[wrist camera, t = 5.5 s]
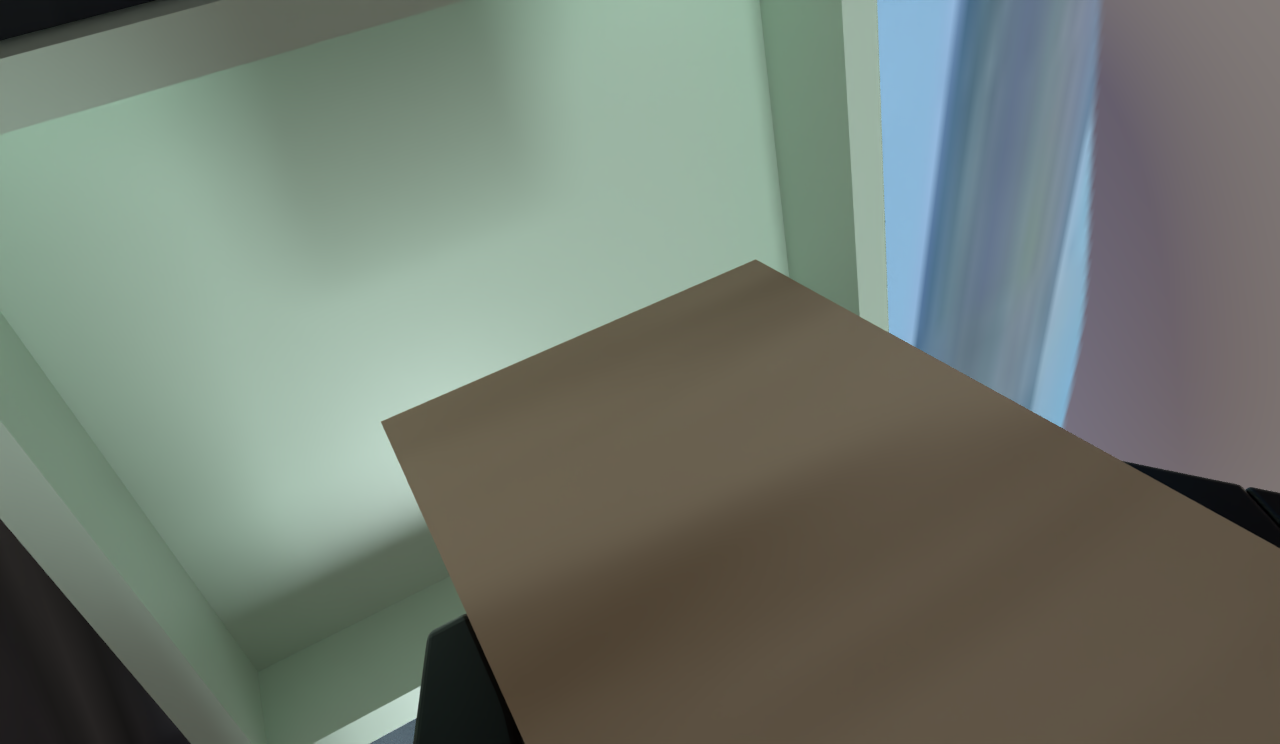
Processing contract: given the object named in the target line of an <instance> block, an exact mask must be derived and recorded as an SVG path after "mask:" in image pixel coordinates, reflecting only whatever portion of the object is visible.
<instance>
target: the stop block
mask: <svg viewBox="0 0 1280 744" xmlns="http://www.w3.org/2000/svg"><path fill="white" fill-rule="evenodd" d="M381 424H382V426H383V428H384V430H385V433H386V435H387V437H388V439H389V441H390V444H391V446H392V448H393V450H394V453H395V455H396V457H397V459H398V462H399V464H400V466H401V468H402V470H403V473H404V475H405V477H406V479H407V482H408V484H409V486H410V488H411V491H412V493H413V495H414V497H415V500H416V502H417V504H418V506H419V508H420V511H421V513H422V515H423V517H424V520H425V522H426V524H427V526H428V529H429V531H430V533H431V535H432V537H433V540H434V542H435V544H436V546H437V549H438V551H439V553H440V555H441V558H442V560H443V562H444V564H445V566H446V569H447V571H448V573H449V575H450V578H451V580H452V582H453V584H454V587H455V589H456V591H457V593H458V596H459V598H460V600H461V602H462V604H463V607H464V609H465V611H466V613H467V616H468V618H469V620H470V622H471V625H472V627H473V629H474V631H475V633H476V636H477V638H478V640H479V642H480V645H481V647H482V649H483V651H484V654H485V656H486V658H487V660H488V663H489V665H490V667H491V669H492V671H493V674H494V676H495V678H496V680H497V683H498V685H499V687H500V689H501V692H502V694H503V696H504V698H505V700H506V703H507V705H508V707H509V709H510V712H511V714H512V716H513V718H514V721H515V723H516V725H517V727H518V730H519V732H520V734H521V736H522V738H523V741H524V743H525V744H1280V548H1278V547H1276V546H1275V545H1273V544H1271V543H1269V542H1267V541H1266V540H1264V539H1262V538H1260V537H1258V536H1256V535H1255V534H1253V533H1251V532H1249V531H1247V530H1246V529H1244V528H1242V527H1240V526H1238V525H1237V524H1235V523H1233V522H1231V521H1229V520H1227V519H1226V518H1224V517H1222V516H1220V515H1218V514H1217V513H1215V512H1213V511H1211V510H1209V509H1208V508H1206V507H1204V506H1202V505H1200V504H1198V503H1197V502H1195V501H1193V500H1191V499H1189V498H1188V497H1186V496H1184V495H1182V494H1180V493H1179V492H1177V491H1175V490H1173V489H1171V488H1170V487H1168V486H1166V485H1164V484H1162V483H1160V482H1159V481H1157V480H1155V479H1153V478H1151V477H1150V476H1148V475H1146V474H1144V473H1142V472H1141V471H1139V470H1137V469H1135V468H1133V467H1131V466H1130V465H1128V464H1126V463H1124V462H1122V461H1121V460H1119V459H1117V458H1115V457H1113V456H1111V455H1110V454H1108V453H1106V452H1104V451H1102V450H1101V449H1099V448H1097V447H1095V446H1093V445H1091V444H1090V443H1088V442H1086V441H1084V440H1082V439H1081V438H1078V437H1077V436H1075V435H1073V434H1072V433H1069V432H1068V431H1066V430H1064V429H1063V428H1061V427H1059V426H1057V425H1055V424H1054V423H1052V422H1050V421H1048V420H1046V419H1044V418H1043V417H1041V416H1039V415H1037V414H1035V413H1034V412H1032V411H1030V410H1028V409H1026V408H1025V407H1023V406H1021V405H1019V404H1017V403H1015V402H1014V401H1012V400H1010V399H1008V398H1006V397H1005V396H1003V395H1001V394H999V393H997V392H996V391H994V390H992V389H990V388H988V387H986V386H985V385H983V384H981V383H979V382H977V381H976V380H974V379H972V378H970V377H968V376H967V375H965V374H963V373H961V372H959V371H957V370H956V369H954V368H952V367H950V366H948V365H947V364H945V363H943V362H941V361H939V360H938V359H936V358H934V357H932V356H930V355H928V354H927V353H925V352H923V351H921V350H919V349H918V348H916V347H914V346H912V345H910V344H909V343H907V342H905V341H903V340H901V339H899V338H898V337H896V336H894V335H892V334H890V333H889V332H887V331H885V330H883V329H881V328H880V327H878V326H876V325H874V324H872V323H870V322H869V321H867V320H865V319H863V318H861V317H860V316H858V315H856V314H854V313H852V312H851V311H849V310H847V309H845V308H843V307H841V306H840V305H838V304H836V303H834V302H832V301H831V300H829V299H827V298H825V297H823V296H822V295H820V294H818V293H816V292H814V291H812V290H811V289H809V288H807V287H805V286H803V285H802V284H800V283H798V282H796V281H794V280H793V279H791V278H789V277H787V276H785V275H783V274H782V273H780V272H778V271H776V270H774V269H773V268H771V267H769V266H767V265H765V264H764V263H762V262H760V261H758V260H756V259H755V260H753V261H751V262H748V263H746V264H744V265H741V266H739V267H737V268H734V269H732V270H730V271H727V272H725V273H723V274H721V275H718V276H716V277H714V278H711V279H709V280H707V281H704V282H702V283H700V284H697V285H695V286H693V287H691V288H688V289H686V290H684V291H681V292H679V293H677V294H674V295H672V296H670V297H667V298H665V299H663V300H660V301H658V302H656V303H654V304H651V305H649V306H647V307H644V308H642V309H640V310H637V311H635V312H633V313H630V314H628V315H626V316H624V317H621V318H619V319H617V320H614V321H612V322H610V323H607V324H605V325H603V326H600V327H598V328H596V329H593V330H591V331H589V332H587V333H584V334H582V335H580V336H577V337H575V338H573V339H570V340H568V341H566V342H563V343H561V344H559V345H557V346H554V347H552V348H550V349H547V350H545V351H543V352H540V353H538V354H536V355H533V356H531V357H529V358H526V359H524V360H522V361H520V362H517V363H515V364H513V365H510V366H508V367H506V368H503V369H501V370H499V371H496V372H494V373H492V374H490V375H487V376H485V377H483V378H480V379H478V380H476V381H473V382H471V383H469V384H466V385H464V386H462V387H459V388H457V389H455V390H453V391H450V392H448V393H446V394H443V395H441V396H439V397H436V398H434V399H432V400H429V401H427V402H425V403H423V404H420V405H418V406H416V407H413V408H411V409H409V410H406V411H404V412H402V413H399V414H397V415H395V416H392V417H390V418H388V419H386V420H383V421H381Z"/></svg>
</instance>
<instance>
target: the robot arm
mask: <svg viewBox="0 0 1280 744" xmlns="http://www.w3.org/2000/svg"><path fill="white" fill-rule="evenodd" d="M1122 462H1124V461H1122ZM1124 463H1126V464H1128V465H1130V466H1131V467H1133V468H1135V469H1137V470H1139V471H1141V472H1142V473H1144V474H1146V475H1148V476H1150V477H1151V478H1153V479H1155V480H1157V481H1159V482H1160V483H1162V484H1164V485H1166V486H1168V487H1170V488H1171V489H1173V490H1175V491H1177V492H1179V493H1180V494H1182V495H1184V496H1186V497H1188V498H1189V499H1191V500H1193V501H1195V502H1197V503H1198V504H1200V505H1202V506H1204V507H1206V508H1208V509H1209V510H1211V511H1213V512H1215V513H1217V514H1218V515H1220V516H1222V517H1224V518H1226V519H1227V520H1229V521H1231V522H1233V523H1235V524H1237V525H1238V526H1240V527H1242V528H1244V529H1246V530H1247V531H1249V532H1251V533H1253V534H1255V535H1256V536H1258V537H1260V538H1262V539H1264V540H1266V541H1267V542H1269V543H1271V544H1273V545H1275V546H1276V547H1278V548H1280V493H1277V492H1272V491H1267V490H1262V489H1258V488H1253V487H1250V488H1247V489H1246V490H1245V489H1244V488H1243V487H1241V486H1240V485H1237V484H1232V483H1227V482H1222V481H1218V480H1212V479H1208V478H1202V477H1198V476H1193V475H1188V474H1183V473H1178V472H1174V471H1169V470H1163V469H1158V468H1153V467H1149V466H1144V465H1139V464H1134V463H1129V462H1124ZM413 744H525V743H524V741H523V738H522V736H521V734H520V732H519V730H518V727H517V725H516V723H515V721H514V718H513V716H512V714H511V712H510V709H509V707H508V705H507V703H506V700H505V698H504V696H503V694H502V692H501V689H500V687H499V685H498V683H497V680H496V678H495V676H494V674H493V671H492V669H491V667H490V665H489V663H488V660H487V658H486V656H485V654H484V651H483V649H482V647H481V645H480V642H479V640H478V638H477V636H476V633H475V631H474V629H473V627H472V625H471V622H470V620H469V618H468V616H467V614H463V615H461V616H459V617H457V618H455V619H453V620H451V621H449V622H447V623H445V624H443V625H441V626H440V627H438V628H436V629H434V630H432V631H431V632H430V634H429V635H428V638H427V642H426V649H425V657H424V664H423V672H422V680H421V687H420V695H419V703H418V710H417V718H416V726H415V734H414V741H413Z"/></svg>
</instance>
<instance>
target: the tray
mask: <svg viewBox="0 0 1280 744" xmlns="http://www.w3.org/2000/svg"><path fill="white" fill-rule="evenodd" d="M755 259H756V260H758V261H760V262H762V263H764V264H765V265H767V266H769V267H771V268H773V269H774V270H776V271H778V272H780V273H782V274H783V275H785V276H787V277H789V278H791V279H793V280H794V281H796V282H798V283H800V284H802V285H803V286H805V287H807V288H809V289H811V290H812V291H814V292H816V293H818V294H820V295H822V296H823V297H825V298H827V299H829V300H831V301H832V302H834V303H836V304H838V305H840V306H841V307H843V308H845V309H847V310H849V311H851V312H852V313H854V314H856V315H858V316H860V317H861V318H863V319H865V320H867V321H869V322H870V323H872V324H874V325H876V326H878V327H880V328H881V329H883V330H885V331H887V332H889V325H888V297H887V269H886V241H885V213H884V185H883V157H882V129H881V100H880V72H879V44H878V16H877V0H155V1H151V2H147V3H143V4H139V5H135V6H131V7H128V8H124V9H120V10H116V11H112V12H108V13H105V14H101V15H97V16H93V17H89V18H85V19H81V20H78V21H74V22H70V23H66V24H62V25H58V26H54V27H51V28H47V29H43V30H39V31H35V32H31V33H27V34H24V35H20V36H16V37H12V38H8V39H4V40H0V519H1V520H2V521H3V522H4V524H5V525H6V526H7V527H8V528H9V530H10V531H11V532H12V533H13V534H14V535H15V537H16V538H17V539H18V540H19V541H20V543H21V544H22V545H23V546H24V547H25V548H26V550H27V551H28V552H29V553H30V554H31V556H32V557H33V558H34V559H35V560H36V561H37V563H38V564H39V565H40V566H41V567H42V568H43V570H44V571H45V572H46V573H47V574H48V576H49V577H50V578H51V579H52V580H53V581H54V583H55V584H56V585H57V586H58V587H59V589H60V590H61V591H62V592H63V593H64V594H65V596H66V597H67V598H68V599H69V600H70V602H71V603H72V604H73V605H74V606H75V607H76V609H77V610H78V611H79V612H80V613H81V615H82V616H83V617H84V618H85V619H86V620H87V622H88V623H89V624H90V625H91V626H92V627H93V629H94V630H95V631H96V632H97V633H98V635H99V636H100V637H101V638H102V639H103V640H104V642H105V643H106V644H107V645H108V646H109V648H110V649H111V650H112V651H113V652H114V653H115V655H116V656H117V657H118V658H119V659H120V661H121V662H122V663H123V664H124V665H125V666H126V668H127V669H128V670H129V671H130V672H131V673H132V675H133V676H134V677H135V678H136V679H137V681H138V682H139V683H140V684H141V685H142V686H143V688H144V689H145V690H146V691H147V692H148V694H149V695H150V696H151V697H152V698H153V699H154V701H155V702H156V703H157V704H158V705H159V707H160V708H161V709H162V710H163V711H164V712H165V714H166V715H167V716H168V717H169V718H170V719H171V721H172V722H173V723H174V724H175V725H176V727H177V728H178V729H179V730H180V731H181V732H182V734H183V735H184V736H185V737H186V738H187V740H188V741H189V742H190V743H191V744H369V743H371V742H373V741H375V740H377V739H379V738H380V737H382V736H384V735H386V734H388V733H390V732H391V731H393V730H395V729H397V728H399V727H401V726H402V725H404V724H406V723H408V722H410V721H412V720H414V719H415V718H417V710H418V703H419V695H420V687H421V680H422V672H423V664H424V657H425V649H426V642H427V638H428V635H429V634H430V632H431V631H432V630H434V629H436V628H438V627H440V626H441V625H443V624H445V623H447V622H449V621H451V620H453V619H455V618H457V617H459V616H461V615H463V614H467V613H466V611H465V609H464V607H463V604H462V602H461V600H460V598H459V596H458V593H457V591H456V589H455V587H454V584H453V582H452V580H451V578H450V575H449V573H448V571H447V569H446V566H445V564H444V562H443V560H442V558H441V555H440V553H439V551H438V549H437V546H436V544H435V542H434V540H433V537H432V535H431V533H430V531H429V529H428V526H427V524H426V522H425V520H424V517H423V515H422V513H421V511H420V508H419V506H418V504H417V502H416V500H415V497H414V495H413V493H412V491H411V488H410V486H409V484H408V482H407V479H406V477H405V475H404V473H403V470H402V468H401V466H400V464H399V462H398V459H397V457H396V455H395V453H394V450H393V448H392V446H391V444H390V441H389V439H388V437H387V435H386V433H385V430H384V428H383V426H382V424H381V421H383V420H386V419H388V418H390V417H392V416H395V415H397V414H399V413H402V412H404V411H406V410H409V409H411V408H413V407H416V406H418V405H420V404H423V403H425V402H427V401H429V400H432V399H434V398H436V397H439V396H441V395H443V394H446V393H448V392H450V391H453V390H455V389H457V388H459V387H462V386H464V385H466V384H469V383H471V382H473V381H476V380H478V379H480V378H483V377H485V376H487V375H490V374H492V373H494V372H496V371H499V370H501V369H503V368H506V367H508V366H510V365H513V364H515V363H517V362H520V361H522V360H524V359H526V358H529V357H531V356H533V355H536V354H538V353H540V352H543V351H545V350H547V349H550V348H552V347H554V346H557V345H559V344H561V343H563V342H566V341H568V340H570V339H573V338H575V337H577V336H580V335H582V334H584V333H587V332H589V331H591V330H593V329H596V328H598V327H600V326H603V325H605V324H607V323H610V322H612V321H614V320H617V319H619V318H621V317H624V316H626V315H628V314H630V313H633V312H635V311H637V310H640V309H642V308H644V307H647V306H649V305H651V304H654V303H656V302H658V301H660V300H663V299H665V298H667V297H670V296H672V295H674V294H677V293H679V292H681V291H684V290H686V289H688V288H691V287H693V286H695V285H697V284H700V283H702V282H704V281H707V280H709V279H711V278H714V277H716V276H718V275H721V274H723V273H725V272H727V271H730V270H732V269H734V268H737V267H739V266H741V265H744V264H746V263H748V262H751V261H753V260H755Z"/></svg>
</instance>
